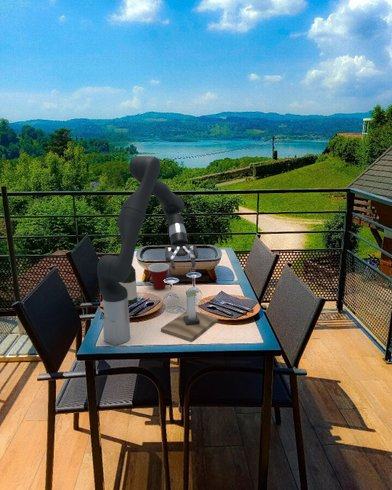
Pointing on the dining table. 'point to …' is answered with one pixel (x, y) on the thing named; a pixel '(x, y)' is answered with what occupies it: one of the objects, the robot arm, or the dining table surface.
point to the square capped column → (191, 309)
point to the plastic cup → (158, 275)
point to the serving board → (189, 326)
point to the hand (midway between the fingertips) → (183, 267)
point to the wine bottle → (131, 286)
